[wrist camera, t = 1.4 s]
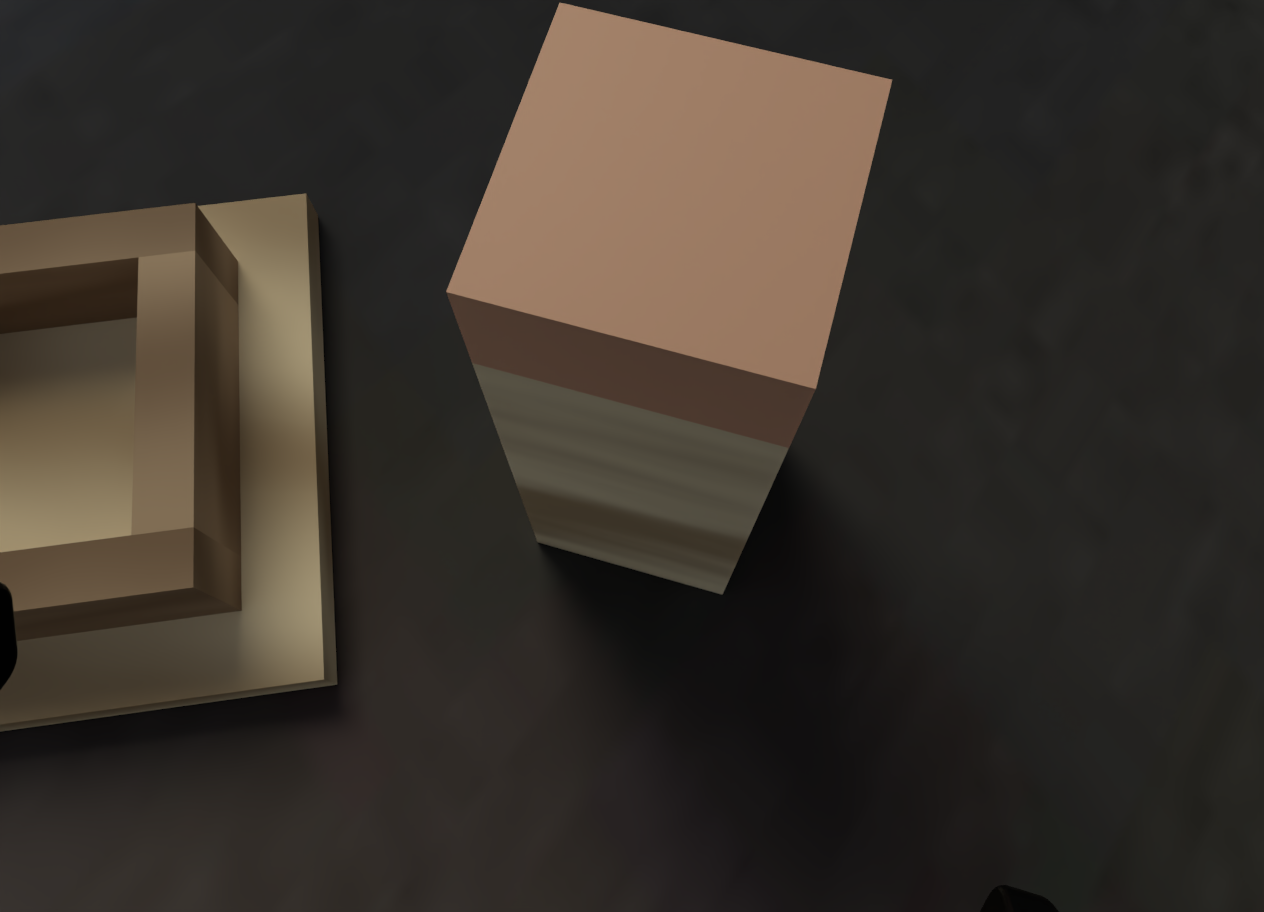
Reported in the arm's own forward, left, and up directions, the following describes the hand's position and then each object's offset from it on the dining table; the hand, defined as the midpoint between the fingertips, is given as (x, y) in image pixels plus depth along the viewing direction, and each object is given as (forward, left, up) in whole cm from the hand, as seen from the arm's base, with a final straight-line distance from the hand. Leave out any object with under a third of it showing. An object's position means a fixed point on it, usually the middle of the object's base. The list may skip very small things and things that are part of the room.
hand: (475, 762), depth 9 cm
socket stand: (+13, +4, -13) cm, 19 cm away
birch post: (+4, -6, -13) cm, 15 cm away
